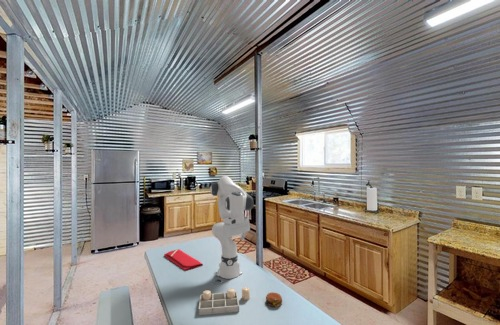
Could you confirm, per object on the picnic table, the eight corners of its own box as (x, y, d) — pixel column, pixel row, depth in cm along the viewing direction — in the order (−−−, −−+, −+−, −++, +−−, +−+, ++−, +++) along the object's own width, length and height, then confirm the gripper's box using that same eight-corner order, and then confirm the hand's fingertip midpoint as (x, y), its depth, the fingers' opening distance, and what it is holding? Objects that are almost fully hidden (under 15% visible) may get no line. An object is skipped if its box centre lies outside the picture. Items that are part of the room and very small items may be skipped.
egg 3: (241, 297, 145) (241, 287, 145) (248, 296, 146) (248, 287, 146) (242, 301, 141) (242, 291, 141) (250, 301, 141) (249, 291, 141)
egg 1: (202, 300, 140) (202, 290, 141) (210, 300, 141) (210, 290, 141) (202, 305, 136) (202, 294, 136) (210, 304, 137) (210, 294, 137)
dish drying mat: (185, 272, 181) (185, 267, 181) (163, 256, 211) (163, 252, 211) (203, 266, 192) (203, 261, 192) (180, 252, 222) (180, 248, 222)
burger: (275, 296, 146) (275, 289, 146) (285, 304, 138) (285, 296, 138) (262, 301, 141) (262, 293, 141) (272, 309, 133) (271, 301, 133)
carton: (200, 300, 142) (200, 294, 142) (237, 297, 145) (237, 291, 145) (198, 316, 127) (198, 309, 127) (239, 312, 130) (239, 305, 130)
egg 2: (227, 298, 142) (227, 288, 142) (234, 298, 143) (234, 288, 143) (227, 303, 138) (227, 292, 138) (235, 302, 138) (235, 292, 139)
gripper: (245, 215, 155) (245, 236, 154) (220, 220, 140) (221, 244, 139) (252, 216, 150) (252, 238, 150) (228, 222, 135) (228, 246, 135)
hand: (237, 241), depth 145 cm, fingers open, 8 cm apart
